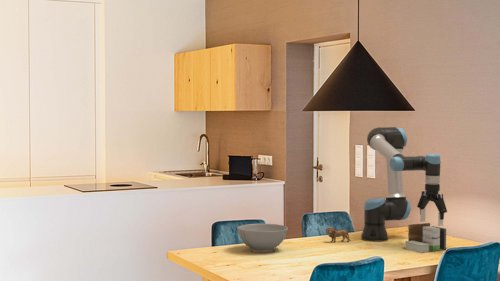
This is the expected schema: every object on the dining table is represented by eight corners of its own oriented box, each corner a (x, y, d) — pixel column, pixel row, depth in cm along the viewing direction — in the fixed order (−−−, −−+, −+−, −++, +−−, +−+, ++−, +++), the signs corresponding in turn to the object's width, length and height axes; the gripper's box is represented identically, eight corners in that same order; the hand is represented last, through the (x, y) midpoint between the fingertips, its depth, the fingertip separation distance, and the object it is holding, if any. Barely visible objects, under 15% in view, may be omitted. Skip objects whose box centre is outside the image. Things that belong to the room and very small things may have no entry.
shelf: (400, 249, 386) (401, 225, 386) (428, 246, 395) (428, 222, 395) (421, 254, 372) (421, 229, 372) (449, 251, 381) (449, 227, 380)
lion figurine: (328, 243, 404) (328, 227, 404) (324, 242, 409) (324, 226, 409) (352, 242, 409) (352, 226, 408) (348, 240, 414) (348, 224, 413)
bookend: (431, 246, 390) (431, 226, 390) (434, 246, 391) (434, 225, 391) (444, 249, 381) (444, 228, 381) (447, 249, 382) (447, 228, 382)
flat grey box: (404, 248, 383) (405, 241, 383) (413, 248, 386) (413, 240, 386) (420, 252, 372) (420, 245, 372) (428, 251, 375) (429, 244, 375)
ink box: (440, 250, 379) (440, 227, 379) (432, 251, 377) (433, 228, 377) (429, 247, 387) (429, 225, 387) (422, 248, 385) (422, 226, 384)
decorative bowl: (228, 252, 379) (228, 229, 378) (250, 243, 403) (250, 222, 402) (275, 256, 367) (275, 233, 367) (295, 247, 391) (295, 225, 391)
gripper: (411, 181, 390) (410, 220, 391) (443, 186, 368) (442, 227, 369) (421, 180, 393) (421, 219, 395) (454, 185, 371) (453, 226, 373)
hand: (431, 223), depth 382 cm, fingers open, 13 cm apart
